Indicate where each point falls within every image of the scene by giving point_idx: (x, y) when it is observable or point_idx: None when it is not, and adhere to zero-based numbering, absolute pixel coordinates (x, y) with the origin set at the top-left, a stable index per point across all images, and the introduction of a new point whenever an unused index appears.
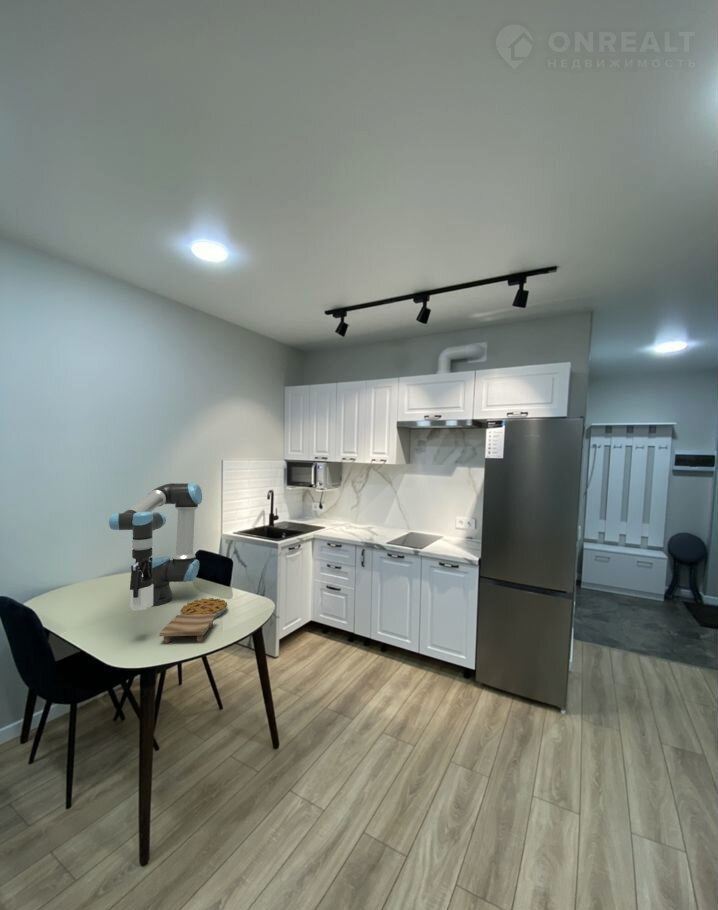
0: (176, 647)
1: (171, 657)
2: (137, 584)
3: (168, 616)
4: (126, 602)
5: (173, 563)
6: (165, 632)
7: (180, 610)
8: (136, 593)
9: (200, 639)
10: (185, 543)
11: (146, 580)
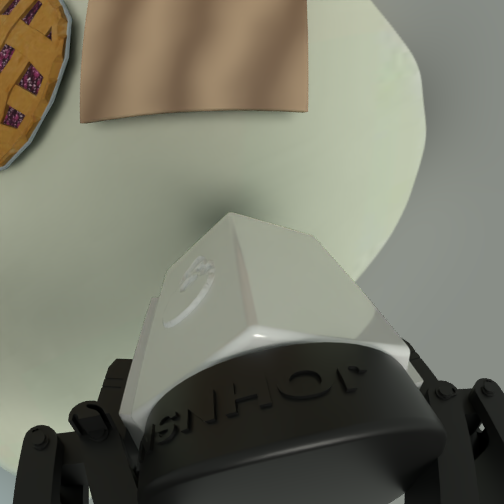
0: (319, 40)
1: (389, 44)
2: (495, 421)
3: (25, 214)
4: (3, 388)
5: None
6: (306, 82)
7: (6, 165)
8: (425, 364)
9: None
10: None
11: (399, 451)
